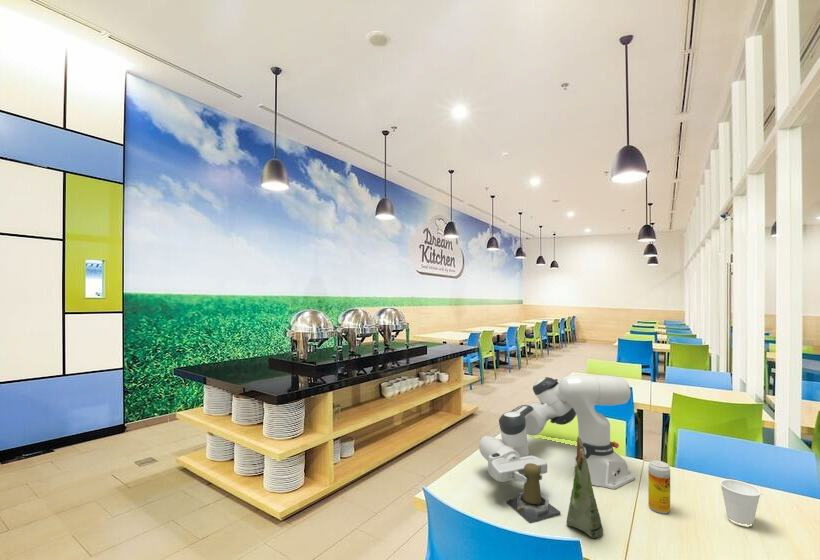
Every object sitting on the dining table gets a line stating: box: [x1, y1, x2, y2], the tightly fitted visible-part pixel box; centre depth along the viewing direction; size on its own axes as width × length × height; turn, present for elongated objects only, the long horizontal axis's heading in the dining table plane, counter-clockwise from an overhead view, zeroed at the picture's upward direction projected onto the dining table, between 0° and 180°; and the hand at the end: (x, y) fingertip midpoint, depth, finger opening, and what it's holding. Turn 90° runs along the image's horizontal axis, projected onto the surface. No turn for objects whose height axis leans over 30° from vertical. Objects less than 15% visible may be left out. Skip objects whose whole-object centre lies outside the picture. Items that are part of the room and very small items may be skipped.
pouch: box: [566, 438, 604, 539], centre depth 120 cm, size 11×12×25 cm
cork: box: [522, 463, 542, 504], centre depth 129 cm, size 6×6×11 cm
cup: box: [719, 478, 762, 525], centre depth 123 cm, size 10×10×11 cm
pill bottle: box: [647, 459, 671, 515], centre depth 130 cm, size 6×6×15 cm
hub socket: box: [506, 492, 561, 524], centre depth 129 cm, size 12×12×3 cm
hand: (533, 479), depth 129 cm, fingers closed on cork, 4 cm apart
